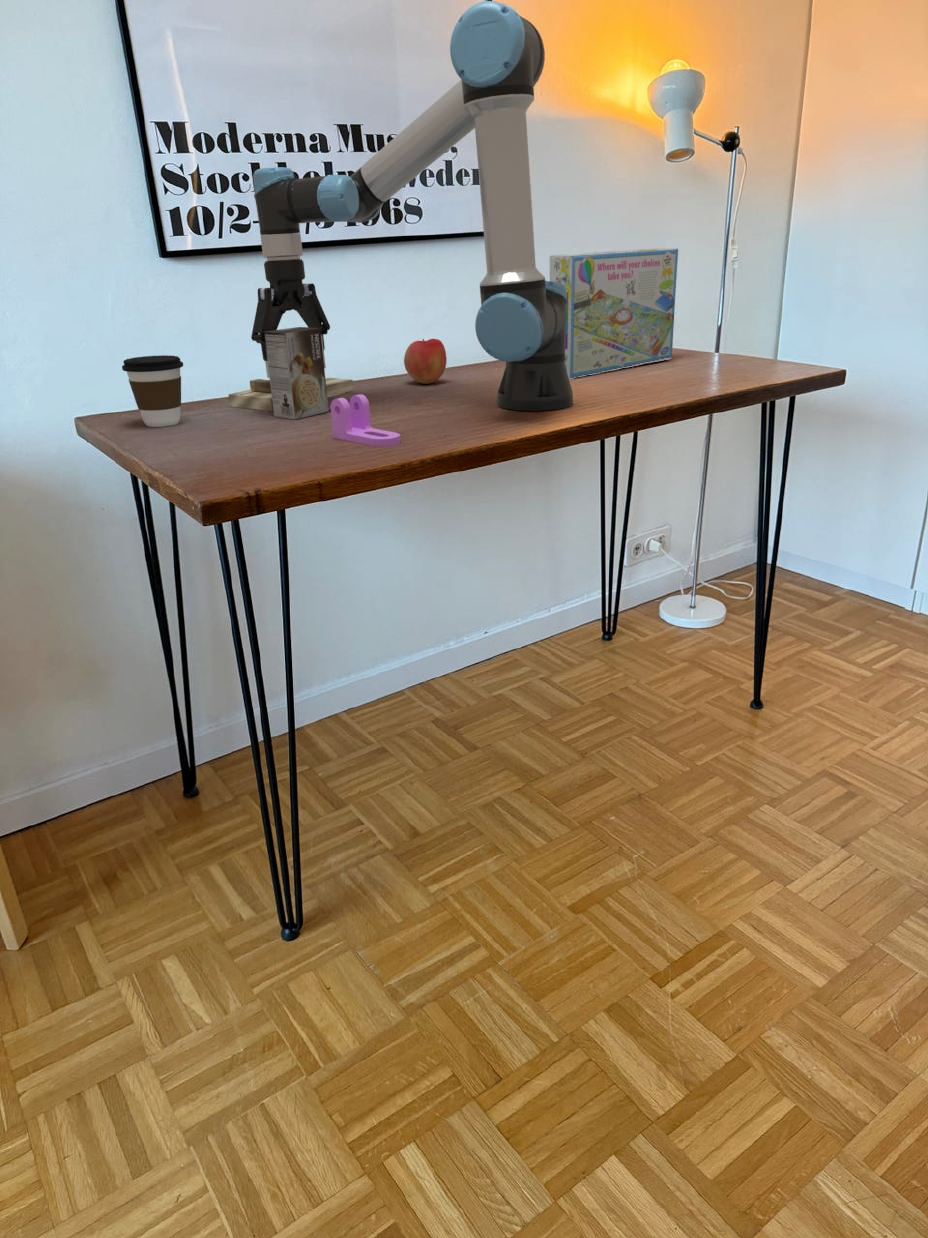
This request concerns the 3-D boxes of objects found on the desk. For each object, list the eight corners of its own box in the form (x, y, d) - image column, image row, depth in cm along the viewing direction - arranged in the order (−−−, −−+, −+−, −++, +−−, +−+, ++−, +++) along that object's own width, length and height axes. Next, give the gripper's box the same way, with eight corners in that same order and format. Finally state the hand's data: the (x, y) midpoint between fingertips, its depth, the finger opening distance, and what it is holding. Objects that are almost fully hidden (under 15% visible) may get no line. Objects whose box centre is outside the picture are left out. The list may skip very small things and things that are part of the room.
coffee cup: (158, 431, 158) (147, 364, 153) (120, 426, 164) (107, 361, 159) (204, 420, 167) (194, 356, 162) (165, 416, 172) (155, 353, 167)
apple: (440, 379, 207) (438, 335, 203) (452, 384, 199) (450, 339, 195) (401, 381, 204) (398, 337, 200) (411, 387, 196) (409, 342, 192)
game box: (650, 358, 230) (657, 247, 219) (672, 361, 226) (680, 247, 214) (547, 377, 206) (548, 253, 195) (569, 380, 201) (572, 253, 190)
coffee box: (307, 409, 175) (299, 326, 169) (329, 412, 172) (322, 327, 165) (272, 416, 169) (262, 330, 162) (295, 420, 165) (286, 332, 159)
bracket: (333, 438, 150) (329, 397, 147) (357, 432, 154) (354, 393, 151) (382, 449, 142) (379, 406, 139) (407, 443, 145) (405, 401, 143)
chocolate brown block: (316, 405, 179) (313, 370, 176) (297, 410, 174) (293, 374, 171) (266, 400, 186) (262, 367, 183) (246, 405, 181) (242, 371, 178)
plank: (353, 390, 194) (352, 379, 193) (272, 411, 174) (270, 397, 173) (312, 387, 200) (311, 376, 199) (230, 406, 180) (228, 393, 179)
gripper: (311, 256, 177) (323, 363, 185) (221, 262, 158) (238, 381, 166) (340, 255, 173) (350, 364, 182) (250, 261, 154) (267, 382, 162)
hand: (297, 372), depth 174 cm, fingers open, 13 cm apart
